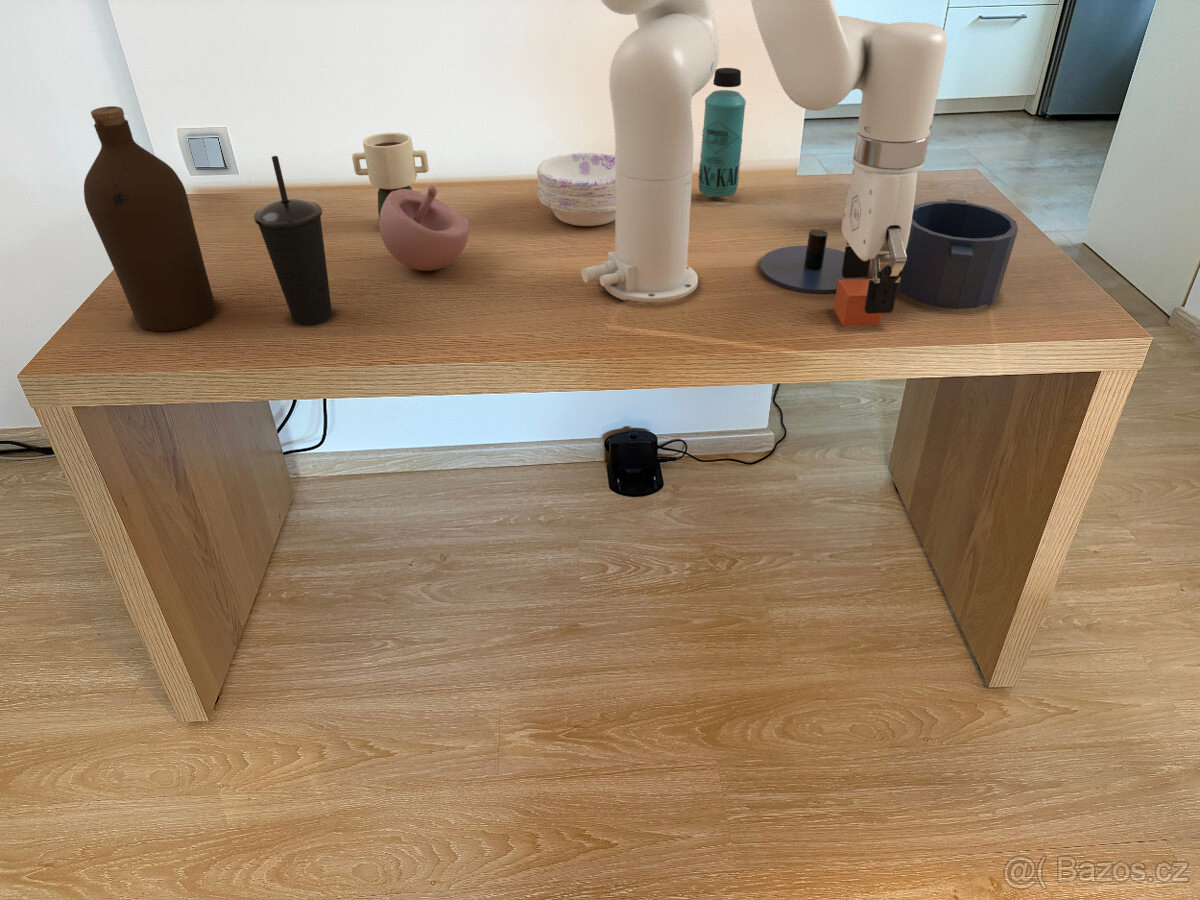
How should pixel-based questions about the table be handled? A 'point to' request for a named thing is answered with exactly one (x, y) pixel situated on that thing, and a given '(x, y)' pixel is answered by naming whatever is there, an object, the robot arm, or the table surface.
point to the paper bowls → (579, 188)
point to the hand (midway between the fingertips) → (865, 293)
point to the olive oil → (146, 229)
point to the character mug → (390, 163)
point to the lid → (806, 265)
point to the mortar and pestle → (422, 229)
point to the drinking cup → (297, 253)
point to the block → (853, 303)
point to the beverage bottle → (722, 136)
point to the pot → (956, 254)
